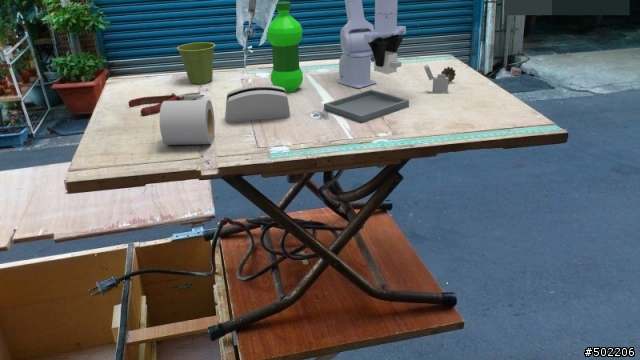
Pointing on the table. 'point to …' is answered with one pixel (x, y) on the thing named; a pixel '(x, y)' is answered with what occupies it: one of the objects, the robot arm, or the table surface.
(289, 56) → the plastic bottle
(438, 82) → the lighter
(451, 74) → the gear
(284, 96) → the grey napkin holder
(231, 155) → the table surface
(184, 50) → the plant pot
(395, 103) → the tray
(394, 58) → the plug
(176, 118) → the toilet paper
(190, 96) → the pliers
